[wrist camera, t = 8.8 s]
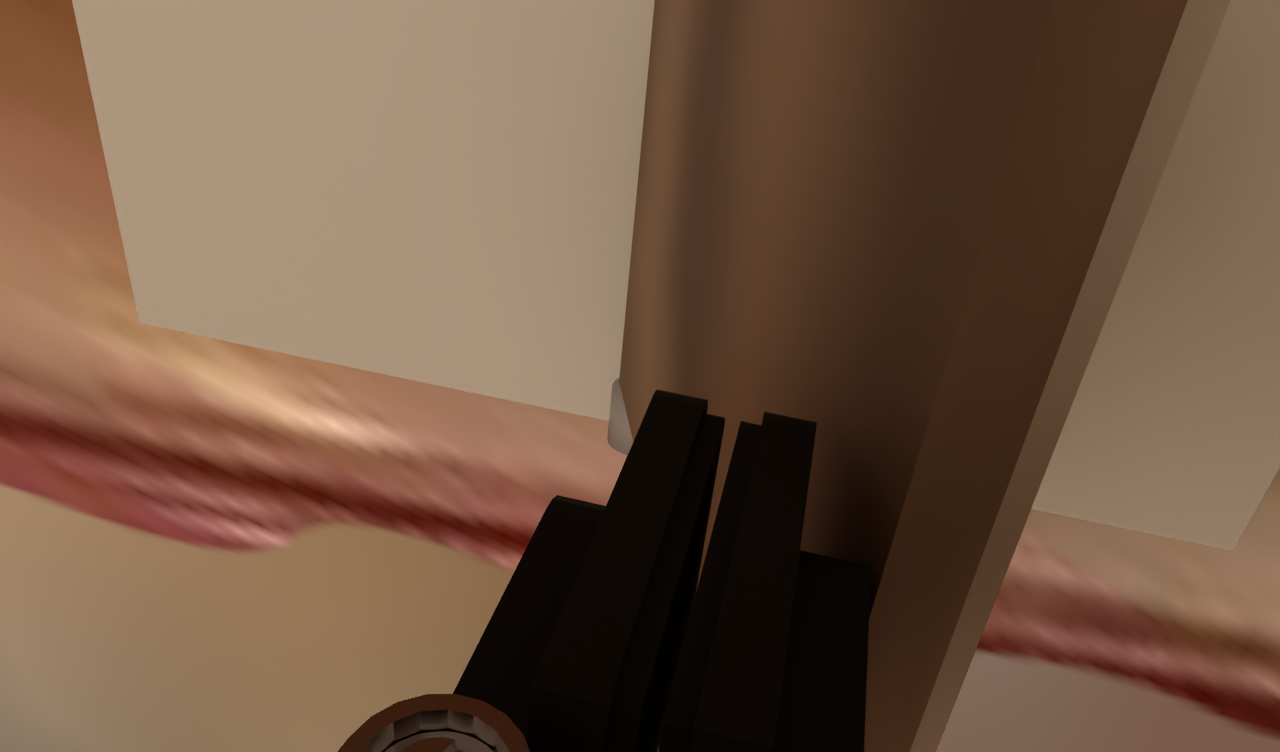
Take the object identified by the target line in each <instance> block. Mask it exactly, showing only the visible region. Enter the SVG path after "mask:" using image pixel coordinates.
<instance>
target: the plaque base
mask: <svg viewBox="0 0 1280 752" xmlns="http://www.w3.org/2000/svg"><path fill="white" fill-rule="evenodd" d="M72 2H73V7H74V12H75V16H76V21H77V26H78V31H79V36H80V40H81V45H82V50H83V55H84V59H85V64H86V69H87V74H88V79H89V83H90V88H91V93H92V98H93V103H94V107H95V112H96V117H97V122H98V127H99V131H100V136H101V141H102V146H103V151H104V155H105V160H106V165H107V170H108V175H109V179H110V184H111V189H112V194H113V199H114V203H115V208H116V213H117V218H118V222H119V227H120V232H121V237H122V242H123V246H124V251H125V256H126V261H127V266H128V270H129V275H130V280H131V285H132V290H133V294H134V299H135V304H136V309H137V314H138V318H139V323H142V324H146V325H151V326H156V327H161V328H166V329H170V330H175V331H180V332H185V333H190V334H194V335H199V336H204V337H209V338H213V339H218V340H223V341H228V342H233V343H237V344H242V345H247V346H252V347H257V348H261V349H266V350H271V351H276V352H280V353H285V354H290V355H295V356H300V357H304V358H309V359H314V360H319V361H324V362H328V363H333V364H338V365H343V366H348V367H352V368H357V369H362V370H367V371H371V372H376V373H381V374H386V375H391V376H395V377H400V378H405V379H410V380H415V381H419V382H424V383H429V384H434V385H438V386H443V387H448V388H453V389H458V390H462V391H467V392H472V393H477V394H482V395H486V396H491V397H496V398H501V399H506V400H510V401H515V402H520V403H525V404H529V405H534V406H539V407H544V408H549V409H553V410H558V411H563V412H568V413H573V414H577V415H582V416H587V417H592V418H596V419H601V420H606V421H609V427H608V443H609V444H610V446H611V447H612V448H614V449H615V450H617V451H618V452H621V453H623V454H627V455H628V453H629V451H630V449H631V446H632V444H633V438H632V434H631V430H630V426H629V421H628V417H627V413H626V409H625V405H624V401H623V396H622V392H621V388H620V384H619V376H620V365H621V355H622V344H623V333H624V323H625V312H626V301H627V291H628V280H629V269H630V259H631V248H632V237H633V227H634V216H635V205H636V194H637V184H638V173H639V162H640V152H641V141H642V130H643V120H644V109H645V98H646V88H647V77H648V66H649V56H650V45H651V34H652V24H653V13H654V2H655V0H72ZM1279 468H1280V0H1231V1H1230V3H1229V6H1228V8H1227V11H1226V14H1225V16H1224V19H1223V21H1222V24H1221V26H1220V29H1219V31H1218V34H1217V37H1216V39H1215V42H1214V44H1213V47H1212V49H1211V52H1210V54H1209V57H1208V59H1207V62H1206V65H1205V67H1204V70H1203V72H1202V75H1201V77H1200V80H1199V82H1198V85H1197V87H1196V90H1195V93H1194V95H1193V98H1192V100H1191V103H1190V105H1189V108H1188V110H1187V113H1186V115H1185V118H1184V121H1183V123H1182V126H1181V128H1180V131H1179V133H1178V136H1177V138H1176V141H1175V144H1174V146H1173V149H1172V151H1171V154H1170V156H1169V159H1168V161H1167V164H1166V166H1165V169H1164V172H1163V174H1162V177H1161V179H1160V182H1159V184H1158V187H1157V189H1156V192H1155V194H1154V197H1153V200H1152V202H1151V205H1150V207H1149V210H1148V212H1147V215H1146V217H1145V220H1144V223H1143V225H1142V228H1141V230H1140V233H1139V235H1138V238H1137V240H1136V243H1135V245H1134V248H1133V251H1132V253H1131V256H1130V258H1129V261H1128V263H1127V266H1126V268H1125V271H1124V273H1123V276H1122V279H1121V281H1120V284H1119V286H1118V289H1117V291H1116V294H1115V296H1114V299H1113V302H1112V304H1111V307H1110V309H1109V312H1108V314H1107V317H1106V319H1105V322H1104V324H1103V327H1102V330H1101V332H1100V335H1099V337H1098V340H1097V342H1096V345H1095V347H1094V350H1093V352H1092V355H1091V358H1090V360H1089V363H1088V365H1087V368H1086V370H1085V373H1084V375H1083V378H1082V380H1081V383H1080V386H1079V388H1078V391H1077V393H1076V396H1075V398H1074V401H1073V403H1072V406H1071V409H1070V411H1069V414H1068V416H1067V419H1066V421H1065V424H1064V426H1063V429H1062V431H1061V434H1060V437H1059V439H1058V442H1057V444H1056V447H1055V449H1054V452H1053V454H1052V457H1051V459H1050V462H1049V465H1048V467H1047V470H1046V472H1045V475H1044V477H1043V480H1042V482H1041V485H1040V488H1039V490H1038V493H1037V495H1036V498H1035V500H1034V503H1033V505H1032V508H1031V509H1032V510H1037V511H1042V512H1047V513H1051V514H1056V515H1061V516H1066V517H1070V518H1075V519H1080V520H1085V521H1090V522H1094V523H1099V524H1104V525H1109V526H1114V527H1118V528H1123V529H1128V530H1133V531H1137V532H1142V533H1147V534H1152V535H1157V536H1161V537H1166V538H1171V539H1176V540H1181V541H1185V542H1190V543H1195V544H1200V545H1205V546H1209V547H1214V548H1219V549H1224V550H1228V551H1234V550H1235V548H1236V546H1237V544H1238V542H1239V541H1240V539H1241V537H1242V535H1243V533H1244V532H1245V530H1246V528H1247V526H1248V524H1249V522H1250V521H1251V519H1252V517H1253V515H1254V513H1255V512H1256V510H1257V508H1258V506H1259V504H1260V503H1261V501H1262V499H1263V497H1264V495H1265V493H1266V492H1267V490H1268V488H1269V486H1270V484H1271V483H1272V481H1273V479H1274V477H1275V475H1276V474H1277V472H1278V470H1279Z"/></svg>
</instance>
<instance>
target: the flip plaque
mask: <svg viewBox="0 0 1280 752" xmlns="http://www.w3.org/2000/svg"><path fill="white" fill-rule="evenodd" d="M1230 1H1231V0H655V2H654V13H653V24H652V34H651V45H650V56H649V66H648V77H647V88H646V98H645V109H644V120H643V130H642V141H641V152H640V162H639V173H638V184H637V194H636V205H635V216H634V227H633V237H632V248H631V259H630V269H629V280H628V291H627V301H626V312H625V323H624V333H623V344H622V355H621V365H620V376H619V384H620V388H621V392H622V396H623V401H624V405H625V409H626V413H627V417H628V421H629V426H630V430H631V434H632V438H633V442H634V439H635V437H636V434H637V432H638V430H639V427H640V425H641V423H642V420H643V418H644V415H645V413H646V411H647V408H648V406H649V404H650V401H651V399H652V396H653V394H654V392H655V391H656V390H657V389H658V390H663V391H668V392H673V393H678V394H682V395H687V396H692V397H697V398H702V399H707V400H708V409H707V414H710V415H715V416H720V417H725V426H724V432H723V438H722V444H721V450H720V455H719V461H718V467H717V473H716V479H715V485H714V490H713V496H712V502H711V508H710V514H709V520H708V525H707V531H706V537H705V543H704V549H703V555H702V560H701V566H700V572H699V578H698V584H699V580H700V576H701V572H702V568H703V565H704V561H705V557H706V553H707V549H708V545H709V541H710V538H711V534H712V530H713V526H714V522H715V518H716V514H717V511H718V507H719V503H720V499H721V495H722V491H723V487H724V484H725V480H726V476H727V472H728V468H729V464H730V460H731V457H732V453H733V449H734V445H735V441H736V437H737V433H738V430H739V426H740V422H741V421H744V422H748V423H753V424H758V425H761V424H762V420H763V415H764V412H769V413H774V414H779V415H784V416H789V417H794V418H799V419H803V420H808V421H813V422H817V427H816V435H815V442H814V450H813V457H812V464H811V472H810V479H809V487H808V494H807V502H806V509H805V517H804V524H803V532H802V539H801V547H800V550H801V551H806V552H810V553H815V554H819V555H823V556H828V557H832V558H837V559H841V560H846V561H850V562H854V563H859V564H863V565H868V566H869V569H870V608H869V635H868V661H867V688H866V715H865V742H864V752H936V750H937V747H938V745H939V742H940V740H941V737H942V735H943V732H944V730H945V727H946V724H947V722H948V719H949V717H950V714H951V712H952V709H953V706H954V704H955V701H956V699H957V696H958V694H959V691H960V689H961V686H962V684H963V681H964V679H965V676H966V674H967V671H968V668H969V666H970V663H971V660H972V658H973V656H974V653H975V651H976V648H977V645H978V643H979V640H980V638H981V635H982V633H983V630H984V628H985V625H986V623H987V620H988V617H989V615H990V612H991V610H992V607H993V605H994V602H995V600H996V597H997V595H998V592H999V589H1000V587H1001V584H1002V582H1003V579H1004V577H1005V574H1006V572H1007V569H1008V567H1009V564H1010V561H1011V559H1012V556H1013V554H1014V551H1015V549H1016V546H1017V544H1018V541H1019V538H1020V536H1021V533H1022V531H1023V528H1024V526H1025V523H1026V521H1027V518H1028V516H1029V513H1030V510H1031V508H1032V505H1033V503H1034V500H1035V498H1036V495H1037V493H1038V490H1039V488H1040V485H1041V482H1042V480H1043V477H1044V475H1045V472H1046V470H1047V467H1048V465H1049V462H1050V459H1051V457H1052V454H1053V452H1054V449H1055V447H1056V444H1057V442H1058V439H1059V437H1060V434H1061V431H1062V429H1063V426H1064V424H1065V421H1066V419H1067V416H1068V414H1069V411H1070V409H1071V406H1072V403H1073V401H1074V398H1075V396H1076V393H1077V391H1078V388H1079V386H1080V383H1081V380H1082V378H1083V375H1084V373H1085V370H1086V368H1087V365H1088V363H1089V360H1090V358H1091V355H1092V352H1093V350H1094V347H1095V345H1096V342H1097V340H1098V337H1099V335H1100V332H1101V330H1102V327H1103V324H1104V322H1105V319H1106V317H1107V314H1108V312H1109V309H1110V307H1111V304H1112V302H1113V299H1114V296H1115V294H1116V291H1117V289H1118V286H1119V284H1120V281H1121V279H1122V276H1123V273H1124V271H1125V268H1126V266H1127V263H1128V261H1129V258H1130V256H1131V253H1132V251H1133V248H1134V245H1135V243H1136V240H1137V238H1138V235H1139V233H1140V230H1141V228H1142V225H1143V223H1144V220H1145V217H1146V215H1147V212H1148V210H1149V207H1150V205H1151V202H1152V200H1153V197H1154V194H1155V192H1156V189H1157V187H1158V184H1159V182H1160V179H1161V177H1162V174H1163V172H1164V169H1165V166H1166V164H1167V161H1168V159H1169V156H1170V154H1171V151H1172V149H1173V146H1174V144H1175V141H1176V138H1177V136H1178V133H1179V131H1180V128H1181V126H1182V123H1183V121H1184V118H1185V115H1186V113H1187V110H1188V108H1189V105H1190V103H1191V100H1192V98H1193V95H1194V93H1195V90H1196V87H1197V85H1198V82H1199V80H1200V77H1201V75H1202V72H1203V70H1204V67H1205V65H1206V62H1207V59H1208V57H1209V54H1210V52H1211V49H1212V47H1213V44H1214V42H1215V39H1216V37H1217V34H1218V31H1219V29H1220V26H1221V24H1222V21H1223V19H1224V16H1225V14H1226V11H1227V8H1228V6H1229V3H1230ZM698 584H697V588H698ZM696 592H697V590H696Z"/></svg>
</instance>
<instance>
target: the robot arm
mask: <svg viewBox="0 0 1280 752" xmlns="http://www.w3.org/2000/svg"><path fill="white" fill-rule="evenodd" d="M707 409H708V400H707V399H702V398H697V397H692V396H687V395H682V394H678V393H673V392H668V391H663V390H658V389H657V390H656V391H655V392H654V394H653V396H652V399H651V401H650V404H649V406H648V408H647V411H646V413H645V415H644V418H643V420H642V423H641V425H640V427H639V430H638V432H637V434H636V437H635V439H634V442H633V444H632V446H631V449H630V451H629V453H628V456H627V458H626V461H625V463H624V465H623V468H622V470H621V472H620V475H619V477H618V479H617V482H616V484H615V487H614V489H613V491H612V494H611V496H610V498H609V501H608V503H607V506H603V505H598V504H594V503H589V502H585V501H581V500H576V499H572V498H567V497H563V496H558V495H557V496H556V497H554V498H553V499H552V501H551V502H550V504H549V505H548V507H547V509H546V511H545V513H544V515H543V517H542V518H541V520H540V522H539V524H538V526H537V528H536V530H535V532H534V534H533V536H532V538H531V540H530V542H529V544H528V546H527V548H526V550H525V552H524V554H523V556H522V558H521V560H520V562H519V564H518V566H517V568H516V570H515V572H514V574H513V576H512V578H511V580H510V582H509V584H508V586H507V588H506V590H505V592H504V594H503V596H502V598H501V600H500V602H499V604H498V605H497V607H496V609H495V612H494V613H493V615H492V618H491V620H490V621H489V624H488V625H487V627H486V629H485V631H484V633H483V635H482V637H481V639H480V641H479V643H478V645H477V647H476V649H475V651H474V653H473V655H472V657H471V659H470V661H469V663H468V665H467V667H466V669H465V671H464V673H463V675H462V677H461V679H460V681H459V683H458V685H457V687H456V689H455V691H454V692H453V694H427V695H423V696H419V697H415V698H411V699H408V700H403V701H400V702H397V703H395V704H393V705H391V706H390V707H388V708H386V709H384V710H382V711H380V712H379V713H377V714H375V715H373V716H371V717H370V718H369V719H368V720H367V721H366V722H365V723H364V724H363V725H362V726H361V727H360V728H359V729H357V730H356V731H355V732H354V733H353V734H352V735H351V736H350V737H349V738H348V739H347V741H346V742H345V743H344V745H343V746H342V747H341V748H340V749H339V751H338V752H864V742H865V715H866V688H867V661H868V635H869V608H870V569H869V566H868V565H863V564H859V563H854V562H850V561H846V560H841V559H837V558H832V557H828V556H823V555H819V554H815V553H810V552H806V551H801V550H800V547H801V539H802V532H803V524H804V517H805V509H806V502H807V494H808V487H809V479H810V472H811V464H812V457H813V450H814V442H815V435H816V427H817V422H813V421H808V420H803V419H799V418H794V417H789V416H784V415H779V414H774V413H769V412H764V415H763V420H762V424H761V425H758V424H753V423H748V422H744V421H741V422H740V426H739V430H738V433H737V437H736V441H735V445H734V449H733V453H732V457H731V460H730V464H729V468H728V472H727V476H726V480H725V484H724V487H723V491H722V495H721V499H720V503H719V507H718V511H717V514H716V518H715V522H714V526H713V530H712V534H711V538H710V541H709V545H708V549H707V553H706V557H705V561H704V565H703V568H702V572H701V576H700V580H699V584H698V578H699V572H700V566H701V560H702V555H703V549H704V543H705V537H706V531H707V525H708V520H709V514H710V508H711V502H712V496H713V490H714V485H715V479H716V473H717V467H718V461H719V455H720V450H721V444H722V438H723V432H724V426H725V417H720V416H715V415H710V414H707ZM697 584H698V588H697ZM696 590H697V592H696ZM658 748H659V750H658Z"/></svg>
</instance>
